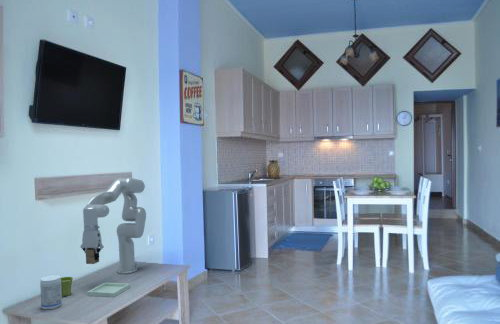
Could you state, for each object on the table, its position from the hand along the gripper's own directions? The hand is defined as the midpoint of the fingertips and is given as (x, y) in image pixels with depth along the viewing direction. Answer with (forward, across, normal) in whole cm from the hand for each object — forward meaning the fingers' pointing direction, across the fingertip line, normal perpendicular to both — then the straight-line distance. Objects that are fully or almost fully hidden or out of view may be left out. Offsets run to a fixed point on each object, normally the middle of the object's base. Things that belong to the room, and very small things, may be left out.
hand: (92, 259), depth 237 cm
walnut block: (+2, 0, 0) cm, 2 cm away
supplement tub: (+16, +3, +31) cm, 35 cm away
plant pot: (+17, +9, +14) cm, 23 cm away
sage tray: (+17, -13, +5) cm, 22 cm away
